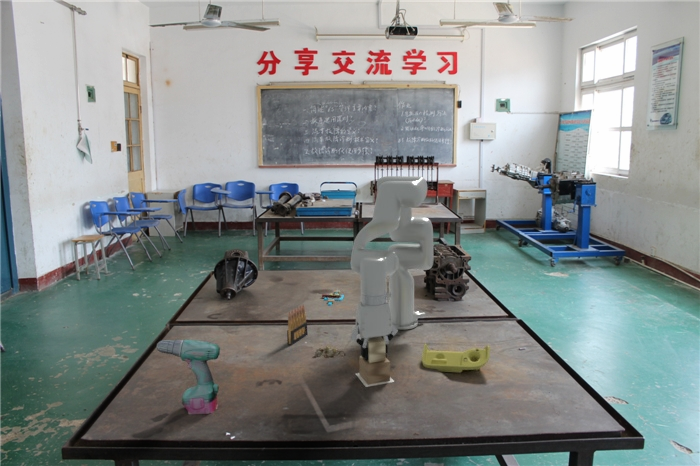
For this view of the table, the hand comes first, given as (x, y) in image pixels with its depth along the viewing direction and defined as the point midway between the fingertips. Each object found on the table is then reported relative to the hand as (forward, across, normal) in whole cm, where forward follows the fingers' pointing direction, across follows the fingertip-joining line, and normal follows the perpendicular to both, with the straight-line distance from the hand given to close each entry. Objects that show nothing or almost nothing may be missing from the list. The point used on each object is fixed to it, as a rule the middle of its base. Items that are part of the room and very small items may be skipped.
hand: (374, 356), depth 155 cm
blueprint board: (+8, 0, -1) cm, 8 cm away
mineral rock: (+8, +8, -21) cm, 24 cm away
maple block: (0, 0, 0) cm, 0 cm away
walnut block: (+7, 0, 0) cm, 7 cm away
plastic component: (+8, -27, 0) cm, 28 cm away
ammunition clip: (+8, +14, -40) cm, 43 cm away
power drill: (+8, +52, -3) cm, 53 cm away
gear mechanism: (+9, -12, -81) cm, 82 cm away
